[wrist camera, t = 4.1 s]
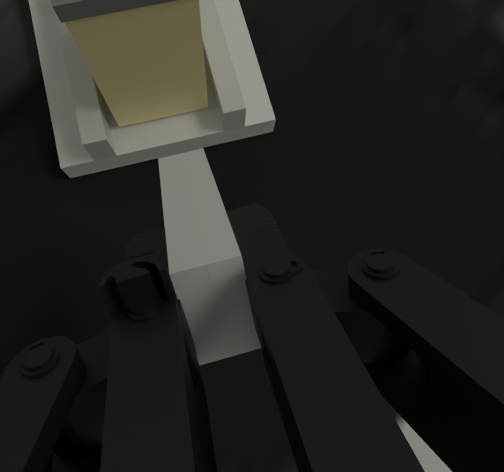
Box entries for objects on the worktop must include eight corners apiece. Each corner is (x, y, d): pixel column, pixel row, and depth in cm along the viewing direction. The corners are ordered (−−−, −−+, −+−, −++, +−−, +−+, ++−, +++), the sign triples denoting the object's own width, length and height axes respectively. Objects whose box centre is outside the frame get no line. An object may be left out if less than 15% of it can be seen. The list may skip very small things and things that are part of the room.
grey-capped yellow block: (117, 129, 24) (52, 6, 15) (99, 47, 25) (27, -113, 16) (210, 108, 24) (200, -22, 16) (188, 29, 25) (167, -134, 17)
